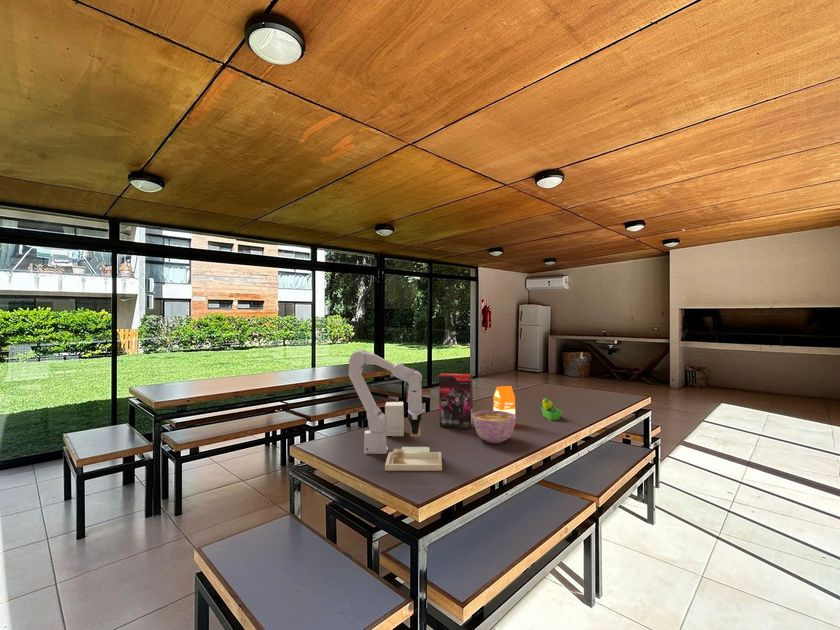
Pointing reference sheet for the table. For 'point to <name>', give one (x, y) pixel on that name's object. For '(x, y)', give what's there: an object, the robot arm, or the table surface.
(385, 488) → the table surface
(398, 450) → the plain block
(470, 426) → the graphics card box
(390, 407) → the supplement box
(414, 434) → the labelled block
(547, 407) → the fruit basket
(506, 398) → the orange juice
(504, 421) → the bowl of food
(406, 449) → the pad
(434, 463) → the tray
